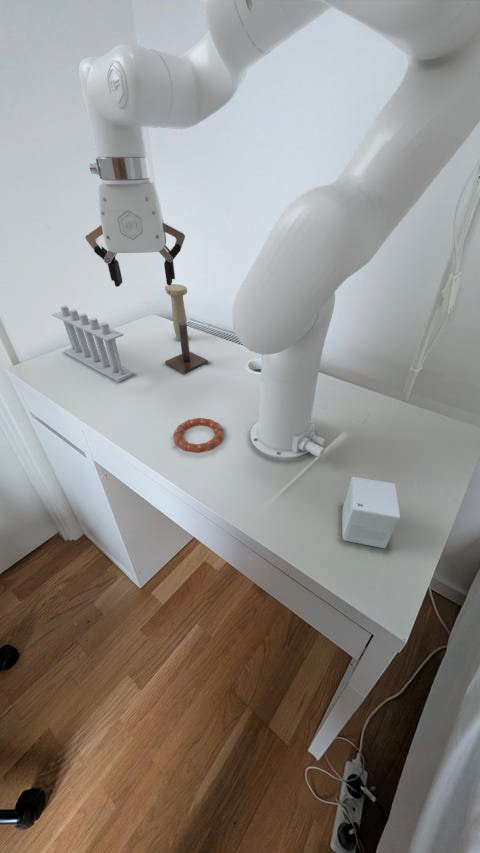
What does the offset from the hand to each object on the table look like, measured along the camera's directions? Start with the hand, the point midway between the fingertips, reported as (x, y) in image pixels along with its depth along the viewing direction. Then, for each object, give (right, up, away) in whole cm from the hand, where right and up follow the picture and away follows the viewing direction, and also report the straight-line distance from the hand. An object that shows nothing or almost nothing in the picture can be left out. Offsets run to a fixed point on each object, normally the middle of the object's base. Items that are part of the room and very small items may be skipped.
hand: (144, 283), depth 65 cm
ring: (+10, -29, +1) cm, 31 cm away
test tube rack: (-20, -11, +25) cm, 34 cm away
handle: (+1, -1, +37) cm, 37 cm away
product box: (+37, -43, -14) cm, 58 cm away
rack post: (+4, -11, +25) cm, 27 cm away
